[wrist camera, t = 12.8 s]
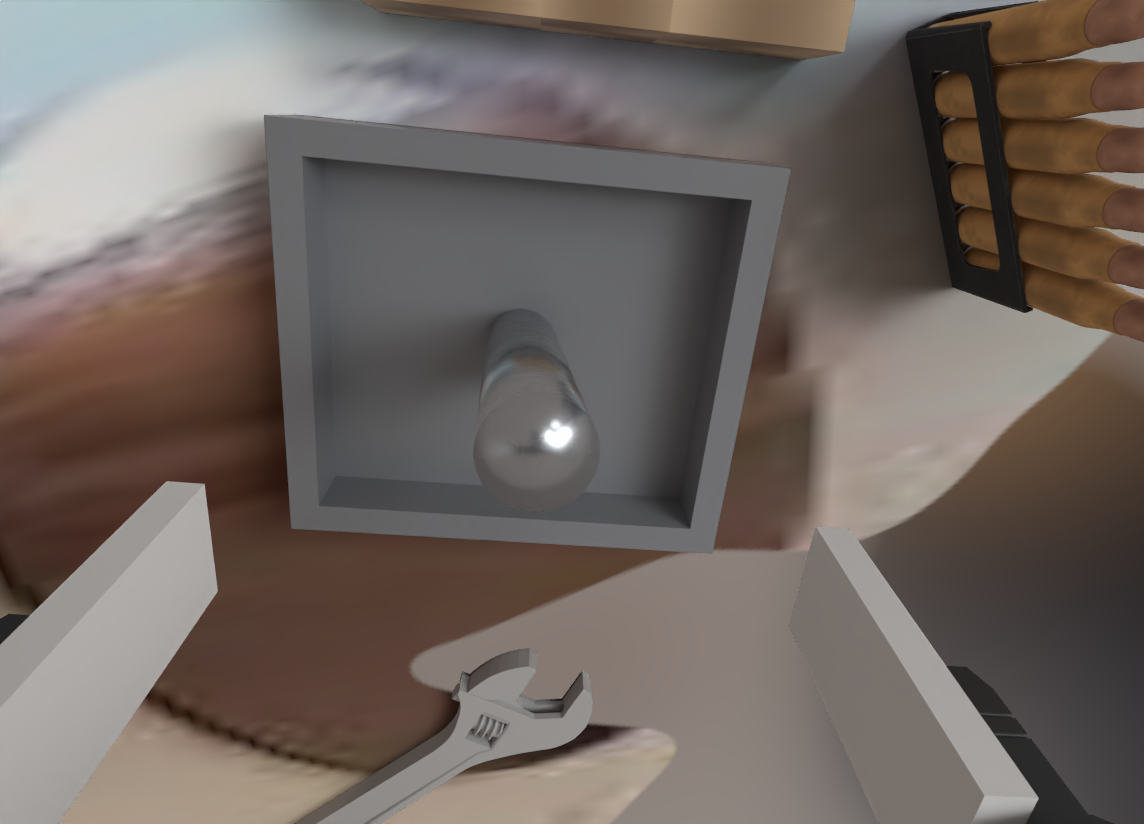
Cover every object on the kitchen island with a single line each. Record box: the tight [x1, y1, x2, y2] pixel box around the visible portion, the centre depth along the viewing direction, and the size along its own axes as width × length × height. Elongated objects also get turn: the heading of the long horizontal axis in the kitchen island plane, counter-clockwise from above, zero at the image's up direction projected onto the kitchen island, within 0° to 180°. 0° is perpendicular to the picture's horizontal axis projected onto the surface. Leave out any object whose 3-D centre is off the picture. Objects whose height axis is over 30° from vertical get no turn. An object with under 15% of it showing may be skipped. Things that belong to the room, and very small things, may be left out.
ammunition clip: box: [906, 0, 1144, 342], centre depth 23 cm, size 11×2×12 cm, turn 22°
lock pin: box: [473, 309, 600, 512], centre depth 23 cm, size 3×3×14 cm
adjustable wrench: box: [295, 648, 593, 824], centre depth 40 cm, size 25×6×2 cm, turn 124°
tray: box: [264, 115, 791, 553], centre depth 29 cm, size 18×16×4 cm
